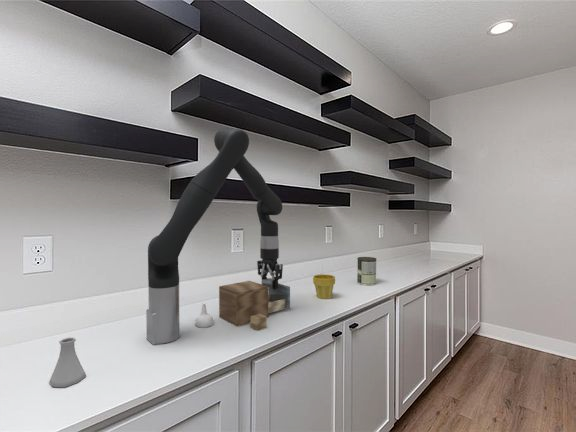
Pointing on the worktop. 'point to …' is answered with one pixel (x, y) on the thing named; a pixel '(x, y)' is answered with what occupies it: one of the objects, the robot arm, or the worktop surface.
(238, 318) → the housing
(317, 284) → the plant pot
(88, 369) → the worktop surface
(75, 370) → the flask
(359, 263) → the coffee can
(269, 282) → the disc
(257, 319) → the wooden block
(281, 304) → the drawer
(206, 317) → the garlic bulb
